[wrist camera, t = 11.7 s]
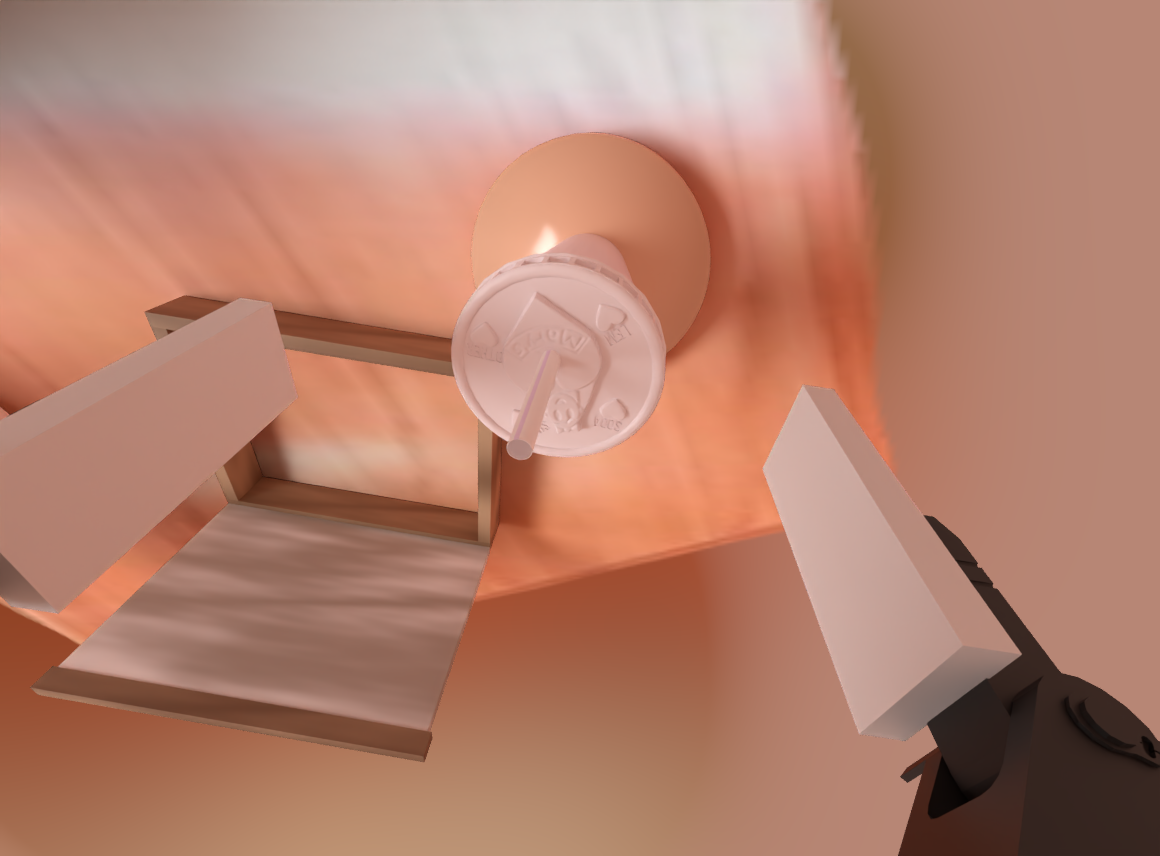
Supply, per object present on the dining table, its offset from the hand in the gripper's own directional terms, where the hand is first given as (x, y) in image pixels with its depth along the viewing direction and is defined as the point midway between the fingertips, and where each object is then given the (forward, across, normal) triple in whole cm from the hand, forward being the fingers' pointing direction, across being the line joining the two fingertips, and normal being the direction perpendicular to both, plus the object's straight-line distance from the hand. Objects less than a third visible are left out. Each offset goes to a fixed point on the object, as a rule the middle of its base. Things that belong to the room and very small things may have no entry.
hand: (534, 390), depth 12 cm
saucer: (+12, +1, 0) cm, 13 cm away
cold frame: (+13, -12, -12) cm, 22 cm away
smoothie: (+12, +1, 0) cm, 12 cm away
